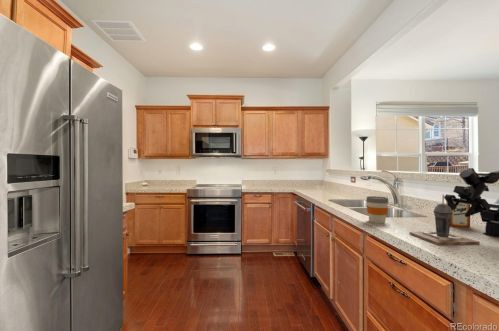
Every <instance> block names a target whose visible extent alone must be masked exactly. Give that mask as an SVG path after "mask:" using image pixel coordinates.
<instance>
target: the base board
mask: <svg viewBox="0 0 499 331" xmlns="http://www.w3.org/2000/svg"><path fill="white" fill-rule="evenodd" d="M410 234H411V236H413V237H415V238H419V239H421V240H424V241H425V242H428V241H429V242H428V243H431V244H433V243H434V245H436V244H437V246H459V245H460V246H467V245H469V246H470V245H480V241H479V240H475V239H473V238H469V237H465V236H463V235H460V234H456V233H452V232H450V231H449V237H448V238H444V237H439V236H437V232H436V230H435V231H434V230H433V231H409V235H410Z"/></svg>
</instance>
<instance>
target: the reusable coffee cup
mask: <svg viewBox="0 0 499 331" xmlns="http://www.w3.org/2000/svg"><path fill="white" fill-rule="evenodd" d="M365 201H366V204H367V205H366V212H367V215H368V221H369V222H371V223H374V224H384V223H386V219H387V218H386V217H387V215H388V210H389V207H388V205H389V197H385V196H376V195H375V196H374V195H373V196H372V195H371V196H366V200H365Z"/></svg>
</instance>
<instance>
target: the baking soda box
mask: <svg viewBox="0 0 499 331" xmlns="http://www.w3.org/2000/svg"><path fill="white" fill-rule="evenodd" d="M445 201H446V200H445ZM445 204H446V205H448V202H447V201H446V203H445ZM470 207H471V205H469V204H465V203H459V204H458V205H457V207H456V208H455V209H453V210H452V213H453V214H452V217H451V222H450V227H456V228H457V227H458V228H468V227H470V228H471V216H468V217H465V214H466V212H467V211H468V210H469V208H470Z"/></svg>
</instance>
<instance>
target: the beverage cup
mask: <svg viewBox="0 0 499 331" xmlns="http://www.w3.org/2000/svg"><path fill="white" fill-rule="evenodd" d="M441 196H442V203H439V204H437V205H436V206H435V207H434V209H433V213H434V214H433V215H434V220H435V231H436V232H437V236H439V237H444V238H448V237H449V232H450V230H451V226H450V222H451V217H452V214H453V213H452V210H451V208H450V207H449V206H448V205H446V203H445V202H444V201H445V198H444V197H445V195H444V194H442V195H441Z"/></svg>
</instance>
